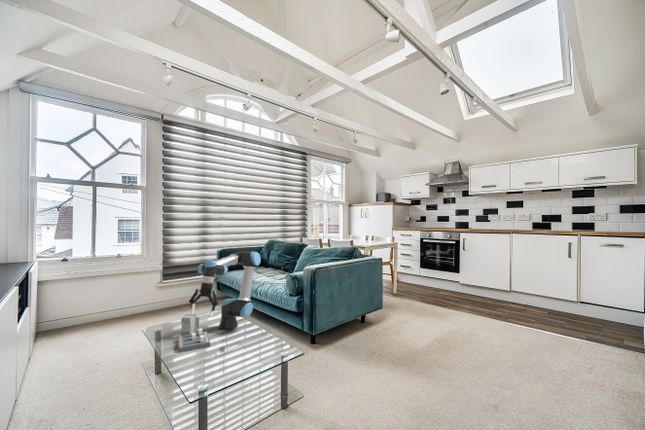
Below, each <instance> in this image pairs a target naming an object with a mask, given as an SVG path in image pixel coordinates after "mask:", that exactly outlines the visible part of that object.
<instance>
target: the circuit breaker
mask: <svg viewBox="0 0 645 430" xmlns="http://www.w3.org/2000/svg"><path fill="white" fill-rule="evenodd" d="M180 324H181V330H180V336H183V335H189V334H192V333H197V329H199V328H200V317H197V314H190V313H189V314H185V315H184V316H182V317H181V319H180Z"/></svg>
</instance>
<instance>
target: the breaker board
mask: <svg viewBox="0 0 645 430" xmlns="http://www.w3.org/2000/svg"><path fill="white" fill-rule="evenodd" d="M202 335H204V342H200V336H201V335H199V332H196V339H195V340H192V334H189V335H183V336H181V335H178V336H177V344H178V345H177V348H178V353H184V352H188V351H193V350H194V351H195V350H200V349H205V348H209V347H211V340H210V337H209V333H208V331H202Z"/></svg>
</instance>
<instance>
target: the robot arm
mask: <svg viewBox="0 0 645 430" xmlns="http://www.w3.org/2000/svg"><path fill="white" fill-rule="evenodd" d="M261 260H262V259H261V255H260V253H259V252H257V251H247V250H246V251H245V250H244V251H243V250H242V251H241V250H240V251H238V252H234V253H231V254H230V255H229V256H226V257H223V258H220V259H217V260H206V262H205V263H201V264H199V265H198V266H197V272H198V274H201V275H202V281H201V284H200V289H199V288H198V289H195V291H194V293H193V294H192V296H191V297H190V299H189V300H188V303H190V313H189V314H192V315H194V313H195V307H196V302H197V301H198V300H199V299H200V298H202V297H205V298H208V299H209V302H210V303H211V306H210V311H209V317H212V316H213V313H214V311H216V310H215V309H216V306H219V301H218V297H217V290H213V287H214V284H213V283H214V281H215V276H220V277H221V276H224V277H225V276H226V275H228V271H229V270H228V269H229V268H228V267H230V266H235V265H242V268H244V269H243V275H242V281H241V285H240V290H239V291H240V292H239V295H238V298H237V299H236V298H227V299H223V300H222V301H221V308H220V310H221V318H220V321H219V324H218V329H219V330H221V331H232V330H235V329H237V328H238V326H239V323H238V320H237V317H240V318H247V317H248V318H249V317H250V315H251V314H252V312H253V309H254V306H253V303H252V300H251V292H252V287H253V281H254V273H255V270H256V269H257V267H258V266H259V265H260V264H261V262H262V261H261Z"/></svg>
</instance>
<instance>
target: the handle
mask: <svg viewBox="0 0 645 430" xmlns="http://www.w3.org/2000/svg"><path fill="white" fill-rule="evenodd" d="M202 332H203V328H198V333H199V335H202Z"/></svg>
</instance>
